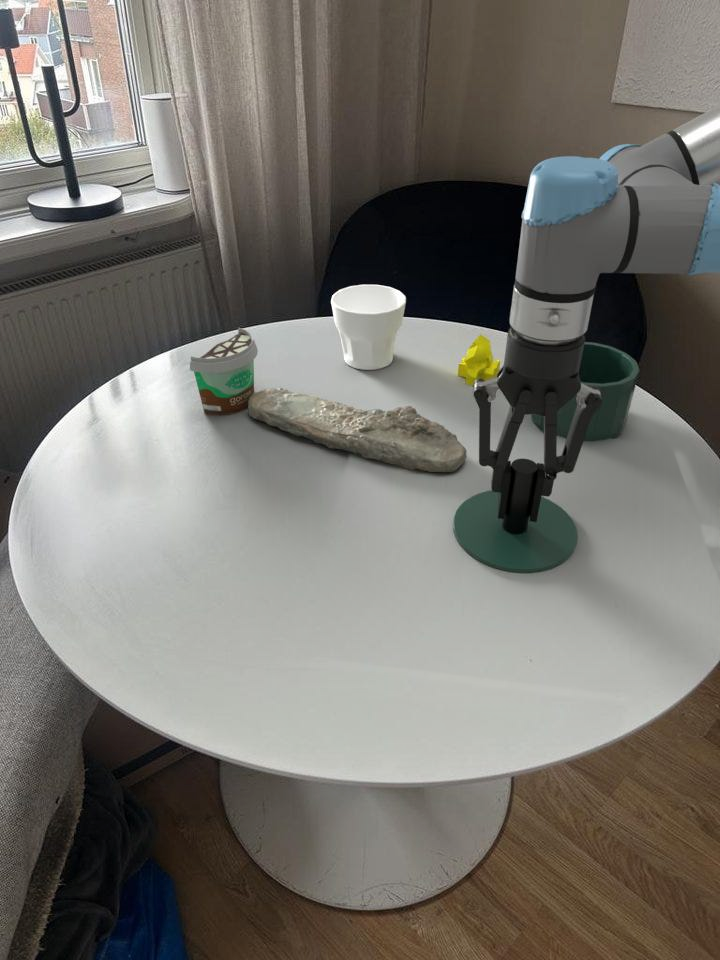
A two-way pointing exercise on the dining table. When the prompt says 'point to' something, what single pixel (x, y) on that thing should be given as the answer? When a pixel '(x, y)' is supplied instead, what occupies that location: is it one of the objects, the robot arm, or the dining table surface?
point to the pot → (616, 387)
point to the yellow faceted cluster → (479, 362)
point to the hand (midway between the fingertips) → (516, 512)
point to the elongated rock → (362, 430)
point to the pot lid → (515, 527)
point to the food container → (226, 374)
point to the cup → (368, 323)
